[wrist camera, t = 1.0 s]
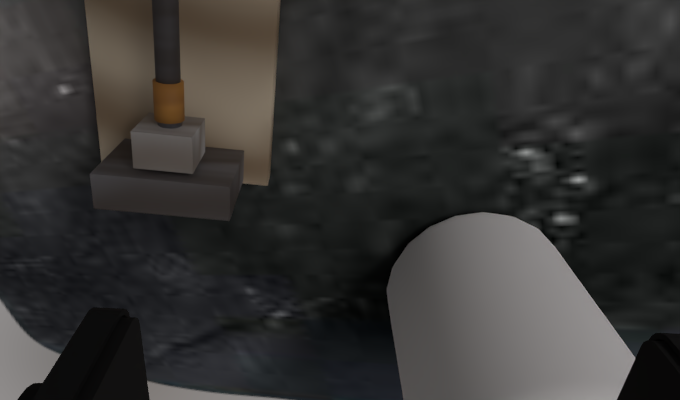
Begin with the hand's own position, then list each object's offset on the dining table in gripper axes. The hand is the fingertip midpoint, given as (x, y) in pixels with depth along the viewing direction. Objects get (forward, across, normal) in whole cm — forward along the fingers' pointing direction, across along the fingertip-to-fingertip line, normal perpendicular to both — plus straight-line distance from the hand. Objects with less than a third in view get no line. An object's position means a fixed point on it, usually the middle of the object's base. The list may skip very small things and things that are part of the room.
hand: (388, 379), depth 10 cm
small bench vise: (+23, +9, -4) cm, 25 cm away
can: (+24, -10, +14) cm, 29 cm away
